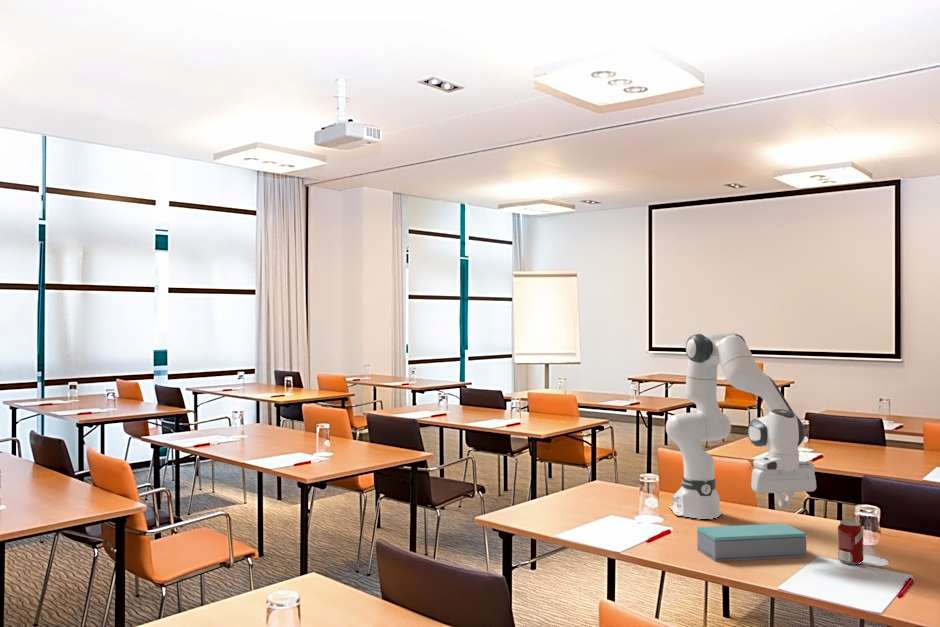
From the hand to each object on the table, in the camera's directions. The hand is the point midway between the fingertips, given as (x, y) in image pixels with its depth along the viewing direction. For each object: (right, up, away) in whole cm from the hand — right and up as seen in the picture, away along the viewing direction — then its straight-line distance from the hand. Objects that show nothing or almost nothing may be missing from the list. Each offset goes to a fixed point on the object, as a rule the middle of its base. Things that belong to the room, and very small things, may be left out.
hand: (784, 506), depth 231 cm
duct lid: (-10, -9, +1) cm, 13 cm away
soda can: (+16, -15, -9) cm, 24 cm away
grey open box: (-10, -15, +1) cm, 18 cm away
